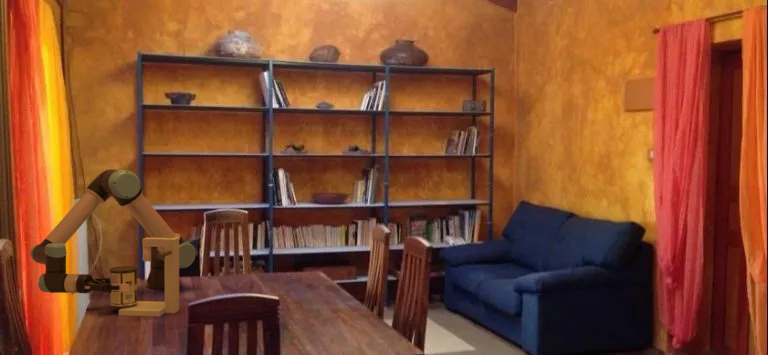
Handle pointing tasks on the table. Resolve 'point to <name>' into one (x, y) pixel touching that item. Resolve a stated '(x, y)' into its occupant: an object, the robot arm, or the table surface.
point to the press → (170, 280)
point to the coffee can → (124, 277)
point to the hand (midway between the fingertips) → (134, 285)
